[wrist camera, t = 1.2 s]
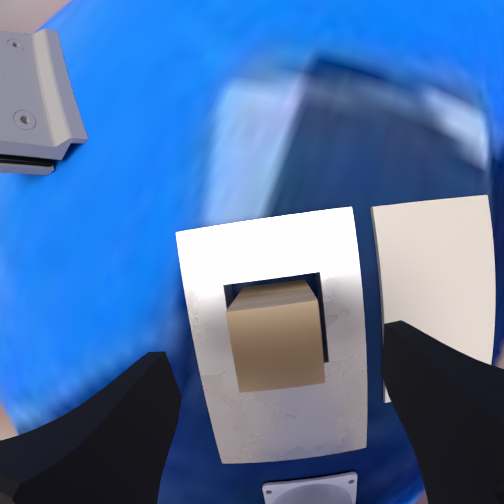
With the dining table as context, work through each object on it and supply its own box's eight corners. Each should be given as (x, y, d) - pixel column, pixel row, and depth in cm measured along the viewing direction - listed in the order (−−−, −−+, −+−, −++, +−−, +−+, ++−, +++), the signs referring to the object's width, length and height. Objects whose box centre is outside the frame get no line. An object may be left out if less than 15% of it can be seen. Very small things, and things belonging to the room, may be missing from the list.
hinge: (89, 143, 21) (-24, 141, 12) (62, 177, 23) (-38, 186, 14) (57, 29, 21) (-19, 13, 12) (35, 61, 23) (-37, 52, 14)
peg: (311, 337, 20) (325, 382, 13) (252, 345, 21) (239, 392, 14) (304, 279, 20) (317, 299, 13) (243, 287, 20) (225, 312, 13)
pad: (486, 366, 19) (490, 369, 18) (382, 399, 20) (385, 403, 19) (483, 195, 19) (487, 194, 18) (369, 207, 19) (372, 207, 19)
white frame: (357, 425, 20) (366, 447, 17) (228, 440, 21) (222, 463, 18) (341, 211, 20) (351, 206, 17) (190, 233, 20) (175, 232, 18)
